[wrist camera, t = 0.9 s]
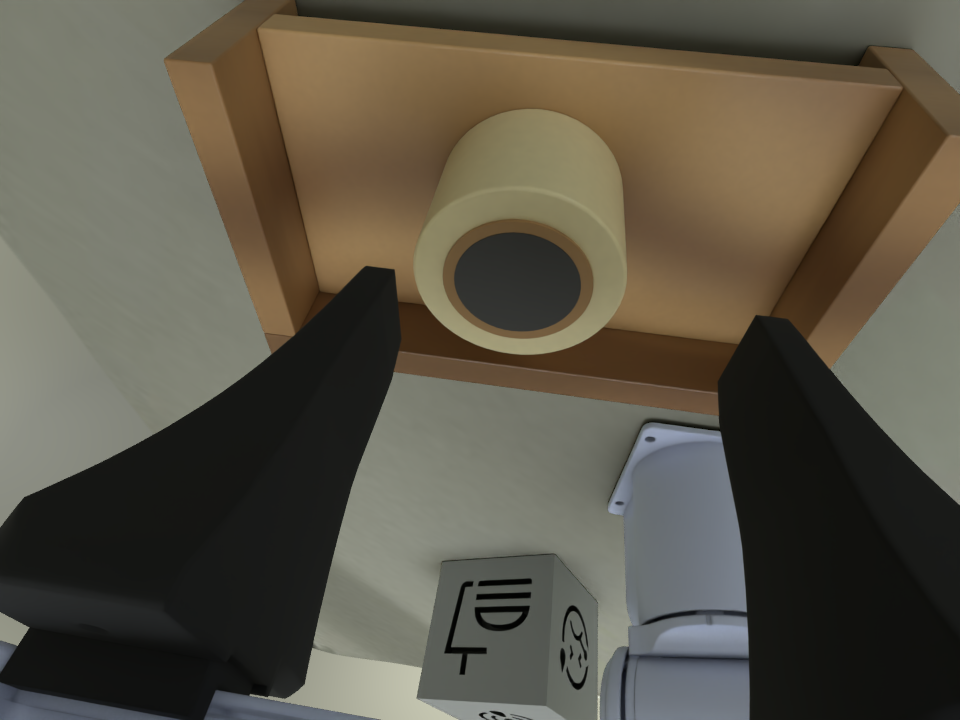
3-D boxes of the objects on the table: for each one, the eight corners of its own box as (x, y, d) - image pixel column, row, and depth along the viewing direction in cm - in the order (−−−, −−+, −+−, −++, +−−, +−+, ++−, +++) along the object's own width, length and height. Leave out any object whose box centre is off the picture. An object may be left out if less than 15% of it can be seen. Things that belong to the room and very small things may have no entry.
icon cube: (442, 561, 46) (416, 698, 39) (554, 554, 42) (546, 706, 35) (495, 605, 52) (480, 730, 46) (597, 602, 48) (597, 740, 41)
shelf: (758, 321, 22) (786, 425, 19) (319, 267, 24) (271, 356, 20) (914, 49, 15) (1010, 141, 11) (254, -9, 16) (161, 58, 13)
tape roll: (602, 277, 18) (602, 370, 16) (443, 258, 19) (416, 345, 16) (644, 117, 14) (653, 204, 12) (440, 97, 15) (404, 176, 12)
